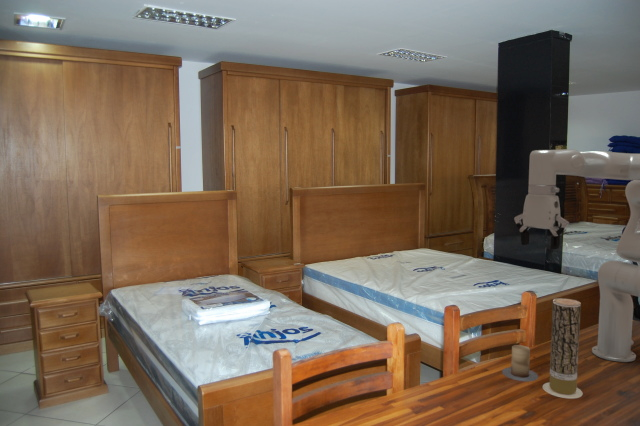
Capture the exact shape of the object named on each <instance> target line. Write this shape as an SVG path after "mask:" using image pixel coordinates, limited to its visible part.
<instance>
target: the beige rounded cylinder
mask: <svg viewBox="0 0 640 426" xmlns="http://www.w3.org/2000/svg"><path fill="white" fill-rule="evenodd" d="M530 359H531V348H530V347H529V346H527V345H526V346H525V345H521V344H514V345H512V346H511V363H510V364H511V366H510V367H511V374H512V375H514V376H516V377H521V378H526V377H529V370H530V361H531V360H530Z"/></svg>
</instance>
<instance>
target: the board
mask: <svg viewBox="0 0 640 426" xmlns="http://www.w3.org/2000/svg"><path fill="white" fill-rule="evenodd" d="M501 373H502V375H504V376H505V377H506V378H508V379H510V380H514V381H519V382H534V381H536V380H538V379H539V375H538V373H536V372H535V371H533V370H531V369H529V377H526V378H521V377H516V376H514V375H512V374H511V366H509V367H506V368H503V369H502V370H501Z"/></svg>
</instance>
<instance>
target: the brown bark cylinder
mask: <svg viewBox="0 0 640 426" xmlns="http://www.w3.org/2000/svg"><path fill="white" fill-rule="evenodd" d="M581 306H582V303H581V302H580V301H579V300H576V299H570V298H553V300H552V312H551V313H552V317H551V318H552V319H551V335H550V337H551V340H550V341H551V342H550V359H549V360H550V363H549V382H550V384H549V385H550V388H551V389H552V390H554V391H556V392H558V393H562V394H572V393H575V392H576V389H577V388H578V385H577V383H578V371H579V369H578V366H579V346H580V345H579V344H580V328H581V326H580V325H581Z"/></svg>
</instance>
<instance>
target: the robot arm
mask: <svg viewBox="0 0 640 426" xmlns="http://www.w3.org/2000/svg"><path fill="white" fill-rule="evenodd" d="M557 175H559V176H560V175H563V176H564V175H565V176H574V177H577V176H578V177H583V178H591V179H592V178H593V179H609V180H622V181H630V182H628V183H627V184H626V186H625V191H624V192H625V194H624V195H625V196H626V200H627V203H628V205H629V211H630V216H629V220H628V222H627V224H626V225H625V228H624V231H623V232H622V234H621V236H620V238H619V239H618V242H617V245H616V249H615V250H616V253H617V255H618V257H619V258H621V259H623V260H626V261H629V262H633V263H637V264H638V265H637V264H633V263H628V262H624V261H619V260H608V261H606V262H603V263H602V264H601V265H600V267H598V272H597V281H598V286H599V287H598V288H599V311H598V312H599V313H598V330H597V331H598V333H597V345H595V346H593V347H592V348H591V352H592V354H593V355H594V356H596V357H598V358H601V359H603V360H606V361H611V362H616V363H629V362H630V363H631V362H634V361H635V360H636V359H637V355H636V353H635V352H633V351H632V350H631V349H632V346H633V345H634V344H635V343H634V340H632V336H633V334H632V332H633V318H634V317H633V316H634V302H633V298H632V296H635V297H639V298H640V153H629V152H627V153H626V152H613V151H607V150H606V151H604V150H594V151H593V150H591V151H578V150H575V149H568V148H567V149H538V150H537V149H535V150H532V151H531V152H530V154H529V169H528V190H527V191H528V194H526V196H525V200H524V204H523V211H522V213H520V214H518V215H516V216H515V217H514V219H513V220H514V222H515V224H516V227H517V228H518V229H519V233H520V242H521V244H520V245H522V246H525V245H529V244H530V231H529V229H531V228H533V229H534V228H535V229H543V230H549V231H550V233H551V234H552V235H551V236H550V249H551V250H558V249H559V247H560V246H561V245H560V242H561V241H560V240H561V238H560V237H561V236H562V235H563V233H565V232H566V231H567V229H568V227H569V225H570V222H569V220H567V219H565V218H563V217H562V216H561V207H560V198H559V196H558V195H556V194H557V193H559V192H560V188H559V187H557Z"/></svg>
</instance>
